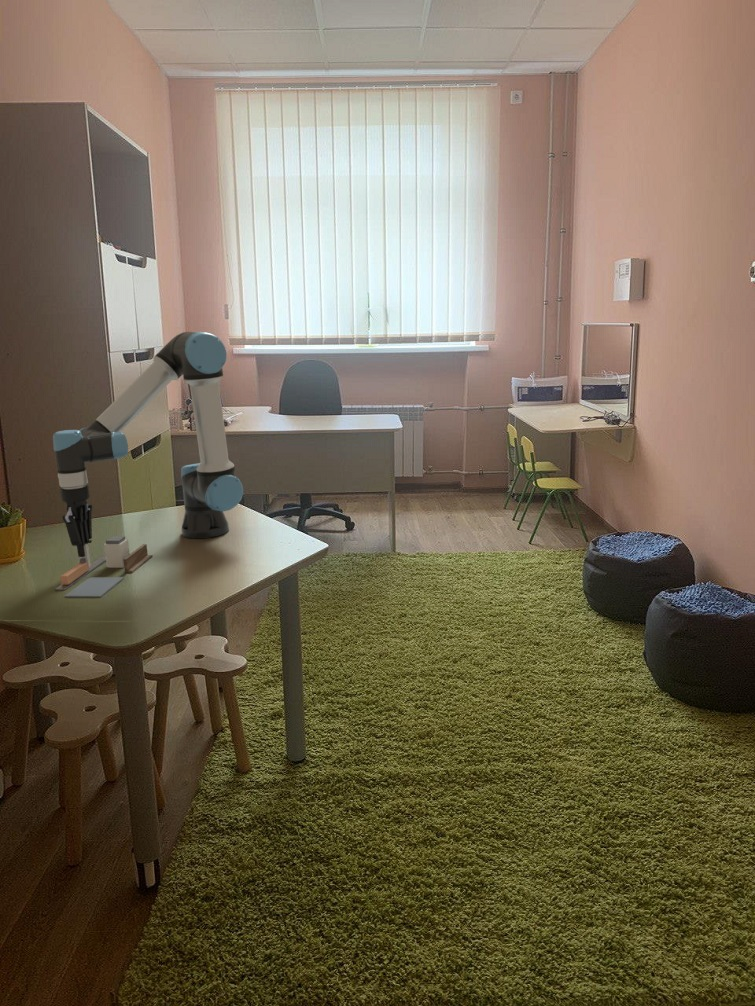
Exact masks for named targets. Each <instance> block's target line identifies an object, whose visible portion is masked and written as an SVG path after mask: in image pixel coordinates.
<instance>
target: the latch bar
mask: <svg viewBox="0 0 755 1006" xmlns="http://www.w3.org/2000/svg"><path fill="white" fill-rule="evenodd" d="M88 570H89V565H88V562H86V558H81V559H80V563H78V564H76V565H74V566H73V567H71V568H69V570H67V571H66V572H63V574H61V575H60V576H59V577H60V585H68V584H70V583H71V582H73V581H74V580H75V579H77V578H78V577H80V576H81V575H82V574H84V573H85V572H87V571H88Z"/></svg>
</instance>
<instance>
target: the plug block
mask: <svg viewBox="0 0 755 1006" xmlns="http://www.w3.org/2000/svg"><path fill="white" fill-rule="evenodd" d="M128 540H129V539H128V538H126V536H110V537H109V538H108V539H106V540H105V543H103V549H104V556H105V557H106V561H105V565H106V568H112V569H113V568H119V569H120V568H121V569H122V568H124V562H123V559H124V558H125V557H127V556H128V555H129V554H131V553H130V547H129V546H130V545H129V541H128Z"/></svg>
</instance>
